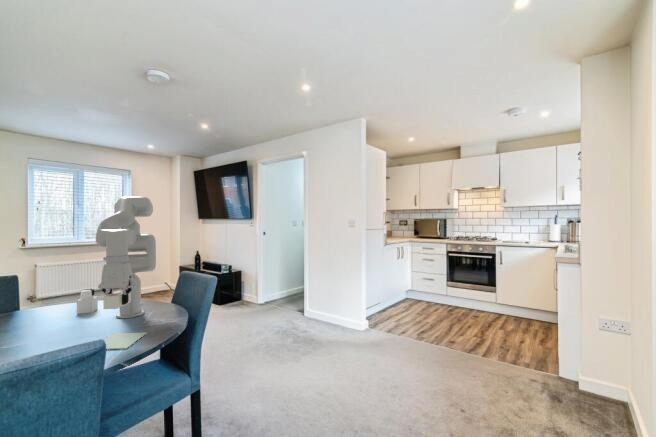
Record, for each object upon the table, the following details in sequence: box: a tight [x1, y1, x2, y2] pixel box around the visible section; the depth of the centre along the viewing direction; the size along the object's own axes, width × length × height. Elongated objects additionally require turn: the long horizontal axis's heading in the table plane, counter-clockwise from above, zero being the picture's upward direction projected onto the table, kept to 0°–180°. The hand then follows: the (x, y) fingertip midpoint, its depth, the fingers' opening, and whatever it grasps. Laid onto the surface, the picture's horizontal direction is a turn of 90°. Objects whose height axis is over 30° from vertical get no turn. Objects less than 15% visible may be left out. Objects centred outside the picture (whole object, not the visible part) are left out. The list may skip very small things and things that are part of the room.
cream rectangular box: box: [103, 290, 131, 310], centre depth 129 cm, size 5×10×5 cm, turn 4°
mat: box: [103, 332, 148, 351], centre depth 129 cm, size 16×14×1 cm
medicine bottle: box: [76, 288, 99, 315], centre depth 171 cm, size 7×7×12 cm
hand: (117, 303), depth 129 cm, fingers closed on cream rectangular box, 5 cm apart
